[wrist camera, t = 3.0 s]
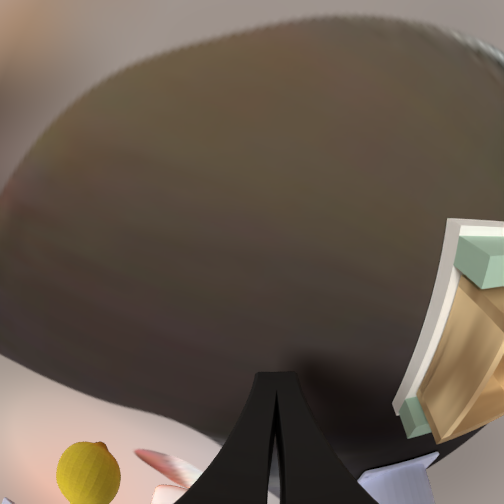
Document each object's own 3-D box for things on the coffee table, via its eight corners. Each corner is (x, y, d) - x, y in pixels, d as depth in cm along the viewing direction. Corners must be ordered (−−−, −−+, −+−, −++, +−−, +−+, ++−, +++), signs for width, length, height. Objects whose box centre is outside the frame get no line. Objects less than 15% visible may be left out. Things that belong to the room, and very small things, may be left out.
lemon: (81, 417, 16) (45, 489, 9) (138, 451, 17) (113, 525, 10) (73, 432, 18) (44, 491, 11) (121, 461, 19) (99, 522, 12)
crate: (489, 371, 11) (514, 409, 8) (416, 394, 11) (436, 444, 8) (533, 267, 8) (574, 299, 5) (461, 274, 9) (511, 322, 5)
